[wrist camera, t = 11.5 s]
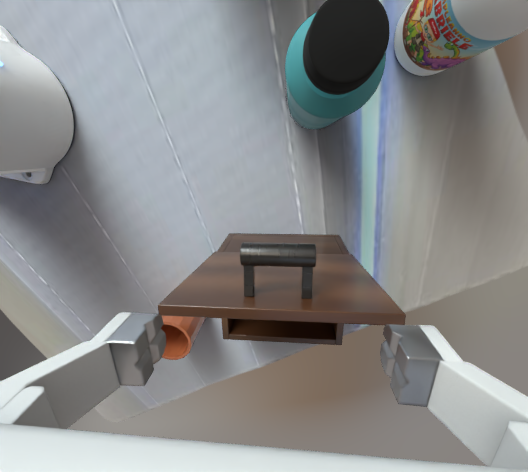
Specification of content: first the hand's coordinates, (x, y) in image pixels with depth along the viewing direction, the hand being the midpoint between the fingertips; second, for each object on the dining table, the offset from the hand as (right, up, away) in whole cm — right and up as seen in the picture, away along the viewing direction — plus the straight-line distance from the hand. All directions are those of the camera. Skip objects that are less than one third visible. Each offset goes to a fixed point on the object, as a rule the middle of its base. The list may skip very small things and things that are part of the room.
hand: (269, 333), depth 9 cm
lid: (+1, 0, +13) cm, 14 cm away
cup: (-13, -9, +33) cm, 36 cm away
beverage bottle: (+6, +20, +22) cm, 30 cm away
